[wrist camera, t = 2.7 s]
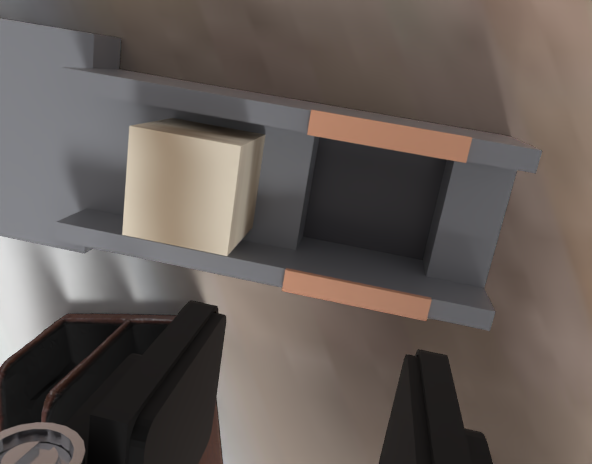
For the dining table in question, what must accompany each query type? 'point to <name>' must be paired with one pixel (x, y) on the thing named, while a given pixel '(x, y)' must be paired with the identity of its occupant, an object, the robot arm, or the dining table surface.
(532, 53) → the dining table surface
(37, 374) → the letter holder
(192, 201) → the birch block
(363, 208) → the grey stepped platform
